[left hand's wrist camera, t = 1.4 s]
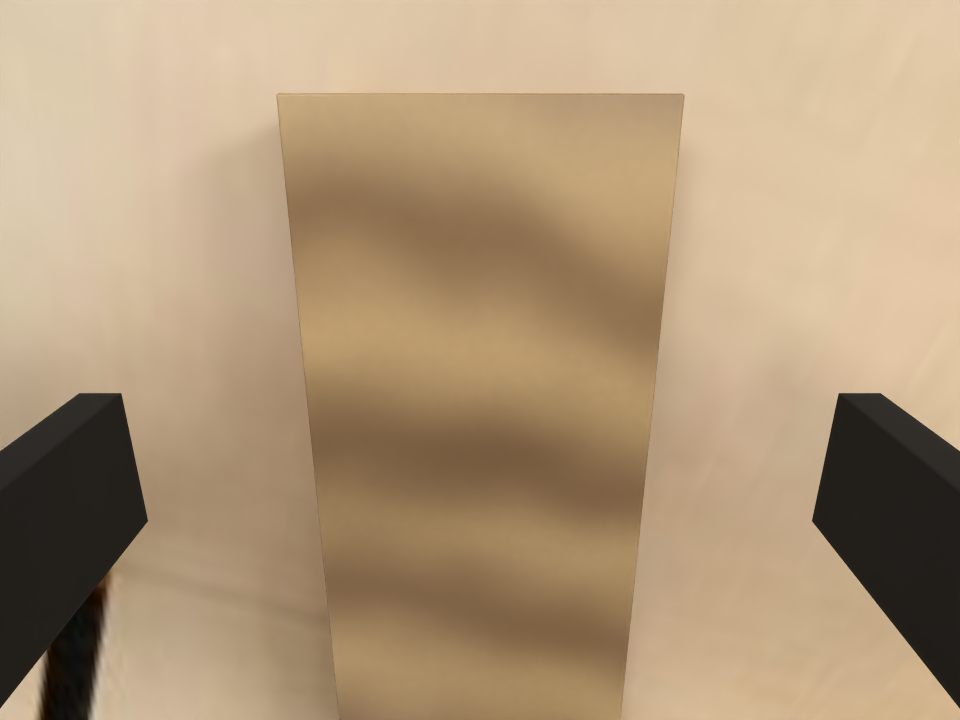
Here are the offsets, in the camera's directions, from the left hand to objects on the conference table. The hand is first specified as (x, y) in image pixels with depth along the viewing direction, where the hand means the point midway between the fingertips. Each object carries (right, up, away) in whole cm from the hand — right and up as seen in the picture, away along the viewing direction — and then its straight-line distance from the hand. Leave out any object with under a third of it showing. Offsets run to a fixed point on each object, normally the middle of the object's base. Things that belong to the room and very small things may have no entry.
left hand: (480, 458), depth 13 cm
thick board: (0, -21, +23) cm, 31 cm away
